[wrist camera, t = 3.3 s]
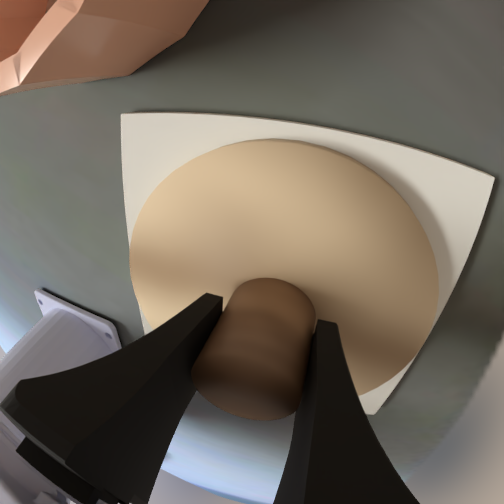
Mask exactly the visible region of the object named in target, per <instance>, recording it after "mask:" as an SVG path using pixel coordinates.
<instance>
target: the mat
mask: <svg viewBox="0 0 504 504" xmlns="http://www.w3.org/2000/svg"><path fill="white" fill-rule="evenodd" d="M270 138H276V139H289V140H300V141H304V142H308V143H313V144H317V145H321V146H325V147H328V148H330V149H333V150H335V151H338V152H340V153H343V154H345V155H348V156H350V157H352V158H354V159H355V160H357V161H359V162H360V163H362V164H364V165H365V166H367V167H369V168H370V169H372V170H373V171H375V172H376V173H377V174H378V175H380V176H381V177H382V178H383V179H384V180H386V181H387V182H388V183H389V184H390V185H392V186H393V188H394V189H395V190H396V191H397V192H398V193H399V194H400V195H401V197H402V198H403V199H404V200H405V201H406V202H407V203H408V205H409V206H410V208H411V210H412V211H413V213H414V214H415V216H416V218H417V219H418V221H419V222H420V224H421V226H422V228H423V229H424V231H425V233H426V235H427V237H428V240H429V242H430V245H431V247H432V250H433V253H434V256H435V261H436V266H437V271H438V280H439V297H438V304H437V311H436V315H435V318H434V321H433V325H432V328H431V330H430V332H431V331H432V329H433V327H434V325H435V323H436V322H437V320H438V318H439V316H440V314H441V312H442V311H443V309H444V307H445V305H446V303H447V301H448V299H449V297H450V295H451V293H452V291H453V289H454V287H455V285H456V283H457V280H458V278H459V276H460V274H461V272H462V269H463V267H464V265H465V262H466V260H467V258H468V255H469V253H470V250H471V248H472V245H473V243H474V240H475V238H476V235H477V232H478V230H479V227H480V224H481V221H482V218H483V215H484V212H485V209H486V206H487V203H488V200H489V197H490V193H491V190H492V186H493V183H494V179H495V178H494V177H493V176H491V175H489V174H488V173H486V172H483V171H481V170H478V169H475V168H473V167H470V166H468V165H465V164H462V163H459V162H457V161H454V160H451V159H448V158H445V157H442V156H439V155H436V154H433V153H430V152H426V151H423V150H420V149H416V148H413V147H410V146H406V145H403V144H399V143H395V142H391V141H388V140H384V139H380V138H376V137H371V136H367V135H363V134H358V133H354V132H349V131H344V130H339V129H334V128H329V127H323V126H318V125H312V124H306V123H299V122H293V121H286V120H278V119H270V118H262V117H252V116H242V115H230V114H215V113H195V112H130V113H124V114H121V149H122V172H123V187H124V200H125V211H126V221H127V230H128V239H129V247H130V243H131V238H132V233H133V229H134V226H135V223H136V220H137V217H138V215H139V213H140V211H141V209H142V207H143V205H144V204H145V202H146V200H147V198H148V197H149V196H150V195H151V193H152V192H153V191H154V190H155V188H156V187H157V186H158V185H159V184H160V183H161V182H162V181H163V180H164V179H165V178H166V177H167V176H169V175H170V174H171V173H172V172H173V171H174V170H176V169H177V168H179V167H181V166H182V165H184V164H185V163H187V162H189V161H190V160H192V159H194V158H196V157H198V156H200V155H202V154H205V153H207V152H210V151H212V150H214V149H217V148H220V147H222V146H225V145H229V144H233V143H237V142H242V141H246V140H256V139H270ZM139 308H140V305H139ZM140 313H141V318H142V323H143V328H144V333H145V335H146V334H148V333H149V332H151V331H153V329H152V327H151V326H150V324H149V323H148V321H147V319H146V318H145V316H144V314H143V312H142V310H141V308H140ZM430 332H429V334H430ZM429 334H428V336H429ZM428 336H427V337H428ZM426 339H427V338H426ZM425 341H426V340H425ZM422 346H423V345H422ZM420 349H421V348H420ZM419 351H420V350H419ZM419 351H418V352H419ZM417 354H418V353H417ZM417 354H416V355H417ZM416 355H415V357H416ZM415 357H414V358H413V359H412V360H411V361H410V362H409V363H408V365H407V366H406V367H405V368H404V369H403V370H401V371H400V372H399V373H398V374H397V375H395V376H394V377H393V378H392V379H390V380H389V381H387V382H386V383H384V384H382V385H381V386H379V387H378V388H376V389H373V390H371V391H369V392H367V393H365V394H363V395H360V396H358V397H359V399H360V402H361V405H362V407H363V409H364V412H365V414H372V415H375V413H376V412H377V411H378V409H379V408H380V407H381V406H382V404H383V403H384V402H385V400H386V399H387V398H388V396H389V395H390V394H391V392H392V391H393V389H394V388H395V387H396V385H397V384H398V382H399V381H400V380H401V378H402V377H403V375H404V374H405V372H406V371H407V369H408V368H409V366H410V365H411V363H412V362H413V360H414V359H415Z"/></svg>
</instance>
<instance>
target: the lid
mask: <svg viewBox="0 0 504 504" xmlns="http://www.w3.org/2000/svg"><path fill="white" fill-rule="evenodd" d="M129 263H130V272H131V279H132V284H133V288H134V292H135V295H136V297H137V300H138V303H139V305H140V308H141V310H142V312H143V314H144V316H145V318H146V319H147V321H148V323H149V324H150V326H151V327H152V329H153V330H154V329H156V328H157V327H159V326H160V325H162V324H163V323H165V322H166V321H168V320H169V319H171V318H172V317H173V316H175V315H176V314H178V313H179V312H180V311H182V310H183V309H185V308H186V307H187V306H189V305H190V304H191V303H193V302H194V301H195V300H197V299H198V298H199V297H201V296H202V295H203V294H205V293H210V294H214V295H218V296H222V297H223V312H222V314H221V316H220V318H219V319H218V321H217V323H216V325H215V327H214V329H213V330H212V332H211V334H210V336H209V338H208V339H207V341H206V343H205V345H204V347H203V349H202V350H201V352H200V354H199V356H198V358H197V360H196V361H195V363H194V365H193V367H192V370H191V377H192V381H193V383H194V385H195V387H196V389H197V390H198V391H199V393H200V394H201V395H202V396H203V397H204V398H205V399H207V400H208V401H209V402H210V403H212V404H213V405H215V406H216V407H218V408H220V409H222V410H224V411H226V412H228V413H231V414H233V415H236V416H239V417H243V418H247V419H253V420H277V419H281V418H284V417H287V416H289V415H291V414H292V413H294V412H295V411H296V410H297V409H298V407H299V405H300V402H301V398H302V393H303V388H304V383H305V378H306V373H307V367H308V362H309V356H310V350H311V345H312V339H313V334H314V331H315V328H316V324H317V321H318V319H320V320H325V321H330V322H335V323H337V325H338V328H339V333H340V338H341V343H342V347H343V351H344V354H345V358H346V361H347V365H348V368H349V371H350V374H351V377H352V380H353V383H354V386H355V389H356V392H357V394H358V396H360V395H363V394H365V393H367V392H369V391H371V390H373V389H376V388H378V387H379V386H381V385H382V384H384V383H386V382H387V381H389V380H390V379H392V378H393V377H394V376H395V375H397V374H398V373H399V372H400V371H401V370H403V369H404V368H405V367H406V366H407V365H408V363H409V362H410V361H411V360H412V359H413V358H414V357H415V355H416V354H417V353H418V351H419V350H420V348H421V347H422V345H423V344H424V342H425V340H426V338H427V336H428V334H429V332H430V330H431V328H432V325H433V321H434V318H435V315H436V311H437V304H438V297H439V280H438V271H437V266H436V261H435V256H434V253H433V250H432V247H431V245H430V242H429V240H428V237H427V235H426V233H425V231H424V229H423V228H422V226H421V224H420V222H419V221H418V219H417V218H416V216H415V214H414V213H413V211H412V210H411V208H410V206H409V205H408V203H407V202H406V201H405V200H404V199H403V198H402V197H401V195H400V194H399V193H398V192H397V191H396V190H395V189H394V188H393V186H392V185H390V184H389V183H388V182H387V181H386V180H384V179H383V178H382V177H381V176H380V175H378V174H377V173H376V172H375V171H373V170H372V169H370V168H369V167H367V166H365V165H364V164H362V163H360V162H359V161H357V160H355V159H354V158H352V157H350V156H348V155H345V154H343V153H340V152H338V151H335V150H333V149H330V148H328V147H325V146H321V145H317V144H313V143H308V142H304V141H300V140H289V139H276V138H270V139H256V140H246V141H242V142H237V143H233V144H229V145H225V146H222V147H220V148H217V149H214V150H212V151H210V152H207V153H205V154H202V155H200V156H198V157H196V158H194V159H192V160H190V161H189V162H187V163H185V164H184V165H182V166H181V167H179V168H177V169H176V170H174V171H173V172H172V173H171V174H170V175H169V176H167V177H166V178H165V179H164V180H163V181H162V182H161V183H160V184H159V185H158V186H157V187H156V188H155V190H154V191H153V192H152V193H151V195H150V196H149V197H148V198H147V200H146V202H145V204H144V205H143V207H142V209H141V211H140V213H139V215H138V217H137V220H136V223H135V226H134V229H133V233H132V238H131V243H130V259H129Z"/></svg>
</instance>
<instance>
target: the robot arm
mask: <svg viewBox="0 0 504 504" xmlns="http://www.w3.org/2000/svg"><path fill="white" fill-rule="evenodd" d="M35 296H36V299H37V301H38V304H39V306H40V309H41V311H42V314H43V316H44V317H43V318H42V319H41V320H40V321H39V322H38V323H37V324H35V325H34V326H33V327H32V328H31V329H30V330H29V331H28V332H27V333H26V334H25V335H24V336H23V337H22V338H21V339H20V340H19V341H18V342H17V343H16V344H15V345H14V347H13V348H12V349H11V350H10V351H9V352H8V353H7V354H6V355H5V356H4V357H3V358H2V359H1V360H0V504H70V500H71V501H73V502H75V503H76V504H118V503H120V504H129V503H132V504H148V501H149V498H150V495H151V492H152V490H153V487H154V484H155V480H156V478H157V475H158V473H159V470H160V468H161V465H162V462H163V460H164V457H165V455H166V452H167V450H168V447H169V445H170V442H171V440H172V438H173V435H174V433H175V431H176V428H177V426H178V424H179V422H180V419H181V417H182V415H183V413H184V411H185V409H186V408H187V406H188V404H189V402H190V401H191V399H192V397H193V395H194V394H195V392H196V390H197V389H196V387H195V385H194V383H193V381H192V377H191V370H192V367H193V365H194V363H195V361H196V360H197V358H198V356H199V354H200V352H201V350H202V349H203V347H204V345H205V343H206V341H207V339H208V338H209V336H210V334H211V332H212V330H213V329H214V327H215V325H216V323H217V321H218V319H219V318H220V316H221V314H222V312H223V297H222V296H218V295H214V294H210V293H205V294H203V295H202V296H201V297H199V298H198V299H197V300H195V301H194V302H193V303H191V304H190V305H189V306H187V307H186V308H185V309H183V310H182V311H180V312H179V313H178V314H176V315H175V316H173V317H172V318H171V319H169V320H168V321H166V322H165V323H163V324H162V325H160V326H159V327H157V328H156V329H154V330H153V331H151V332H149V333H148V334H146V335H144V336H143V337H141V338H140V339H138V340H136V341H134V342H133V343H131V344H129V345H127V346H125V347H123V348H122V347H121V344H120V341H119V337H118V334H117V331H116V328H115V326H114V325H113V323H111V322H110V321H108V320H106V319H103V318H101V317H99V316H96V315H94V314H92V313H89V312H87V311H85V310H83V309H81V308H78V307H76V306H74V305H72V304H70V303H68V302H66V301H63V300H61V299H59V298H57V297H55V296H53V295H51V294H49V293H47V292H45V291H43V290H41V289H39V288H38V289H37V290H36V291H35ZM273 504H420V503H419V502H418V501H417V499H416V498H415V497H414V496H413V494H412V493H411V492H410V490H409V489H408V488H407V486H406V485H405V483H404V482H403V480H402V479H401V477H400V476H399V474H398V473H397V472H396V470H395V469H394V467H393V465H392V463H391V462H390V460H389V458H388V457H387V455H386V453H385V451H384V450H383V448H382V446H381V445H380V443H379V441H378V439H377V437H376V435H375V433H374V431H373V429H372V427H371V425H370V423H369V421H368V418H367V416H366V414H365V412H364V409H363V407H362V405H361V402H360V399H359V397H358V394H357V392H356V389H355V386H354V383H353V380H352V377H351V374H350V371H349V368H348V365H347V361H346V358H345V354H344V351H343V347H342V343H341V338H340V333H339V328H338V325H337V323H335V322H330V321H325V320H320V319H318V321H317V324H316V328H315V331H314V334H313V339H312V345H311V350H310V356H309V362H308V367H307V373H306V378H305V383H304V388H303V393H302V398H301V402H300V405H299V407H298V409H297V410H296V414H295V421H294V428H293V435H292V441H291V446H290V450H289V454H288V457H287V461H286V464H285V468H284V471H283V475H282V478H281V481H280V484H279V488H278V491H277V494H276V497H275V500H274V503H273Z"/></svg>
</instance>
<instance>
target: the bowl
mask: <svg viewBox="0 0 504 504" xmlns="http://www.w3.org/2000/svg"><path fill="white" fill-rule="evenodd" d="M208 2H209V0H0V96H3V95H8V94H12V93H17V92H22V91H27V90H33V89H39V88H45V87H52V86H60V85H68V84H77V83H84V82H90V81H95V80H101V79H108V78H115V77H122V76H129V75H130V74H131V73H133V72H134V71H135V70H137V69H138V68H139V67H141V66H142V65H143V64H145V63H146V62H147V61H149V60H150V59H151V58H153V57H154V56H156V55H157V54H159V53H160V52H161V51H163V50H164V49H166V48H167V47H169V46H170V45H172V44H173V43H175V42H176V41H178V40H180V39H181V38H183V37H184V36H185V35H186V33H187V32H188V30H189V29H190V27H191V26H192V24H193V23H194V21H195V20H196V18H197V17H198V16H199V14H200V13H201V11H202V10H203V9H204V7H205V6H206V4H207V3H208Z"/></svg>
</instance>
